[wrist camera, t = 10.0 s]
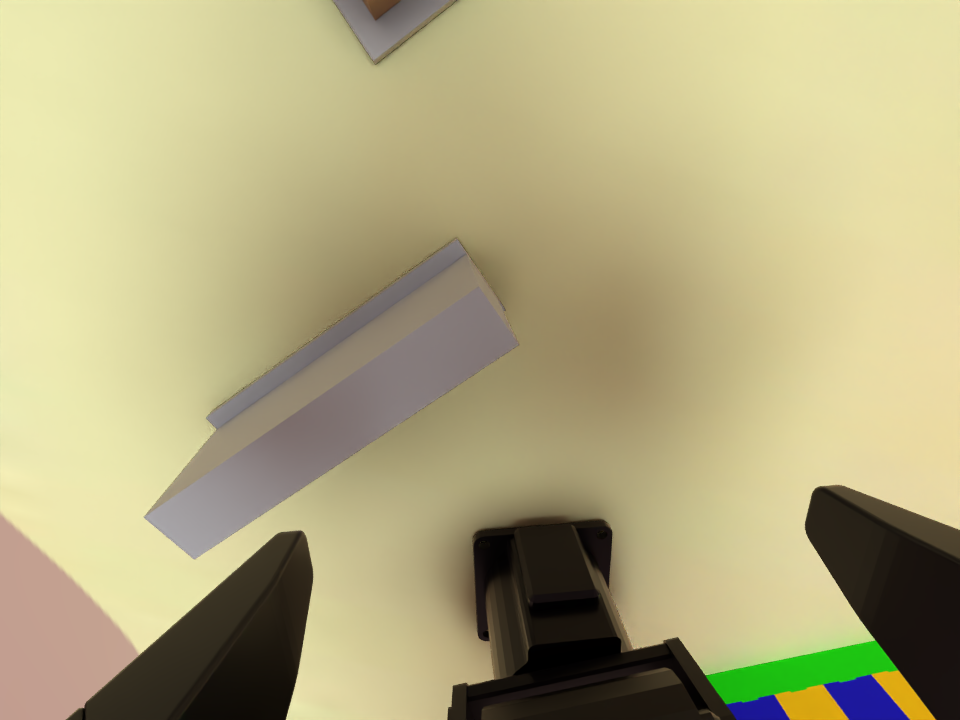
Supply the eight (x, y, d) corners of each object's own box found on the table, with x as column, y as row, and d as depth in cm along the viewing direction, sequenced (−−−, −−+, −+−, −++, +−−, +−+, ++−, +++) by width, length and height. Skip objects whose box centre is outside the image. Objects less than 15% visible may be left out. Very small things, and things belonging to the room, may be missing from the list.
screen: (267, 465, 21) (208, 571, 16) (211, 411, 20) (127, 503, 15) (503, 306, 20) (530, 361, 14) (456, 237, 19) (466, 267, 13)
